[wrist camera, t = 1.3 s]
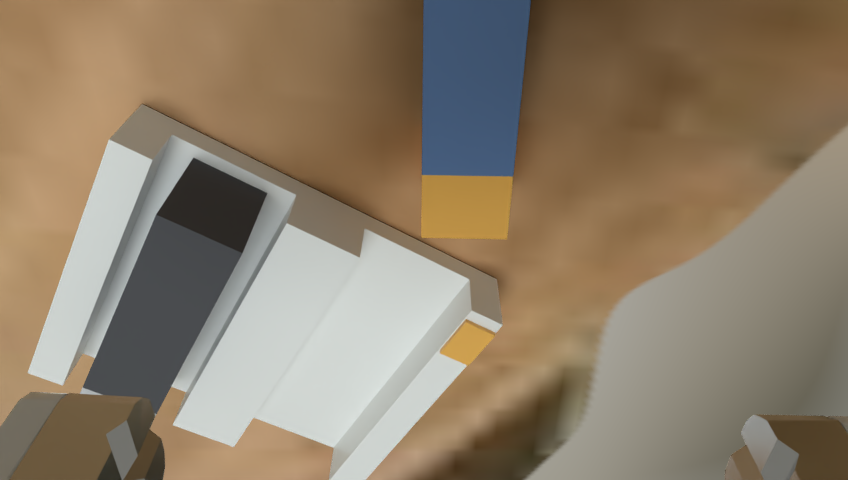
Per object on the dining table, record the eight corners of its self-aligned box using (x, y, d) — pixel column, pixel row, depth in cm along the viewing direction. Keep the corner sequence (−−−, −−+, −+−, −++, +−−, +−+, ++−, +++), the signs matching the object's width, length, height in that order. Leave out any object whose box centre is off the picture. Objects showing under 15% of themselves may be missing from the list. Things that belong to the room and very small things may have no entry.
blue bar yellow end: (427, -173, 19) (425, -164, 16) (528, -171, 19) (547, -163, 16) (423, 181, 26) (421, 237, 23) (498, 182, 26) (507, 239, 23)
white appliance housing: (141, 103, 25) (106, 142, 22) (497, 279, 29) (503, 328, 26) (60, 326, 31) (25, 376, 28) (361, 441, 35) (355, 494, 33)
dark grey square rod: (193, 157, 25) (156, 214, 21) (267, 193, 25) (242, 253, 22) (107, 354, 31) (67, 423, 27) (169, 378, 31) (138, 447, 28)
